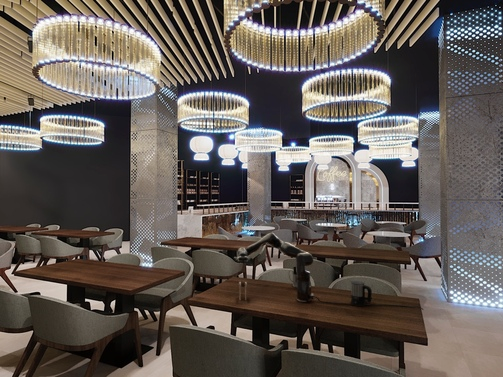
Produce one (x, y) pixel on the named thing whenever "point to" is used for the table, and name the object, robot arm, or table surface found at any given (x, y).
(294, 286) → the glass holder
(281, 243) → the robot arm
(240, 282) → the toaster bracket
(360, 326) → the table surface
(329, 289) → the table surface
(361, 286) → the milk frother
